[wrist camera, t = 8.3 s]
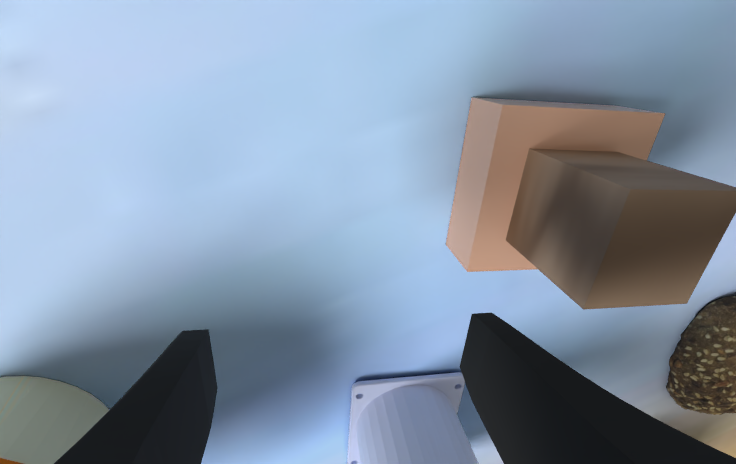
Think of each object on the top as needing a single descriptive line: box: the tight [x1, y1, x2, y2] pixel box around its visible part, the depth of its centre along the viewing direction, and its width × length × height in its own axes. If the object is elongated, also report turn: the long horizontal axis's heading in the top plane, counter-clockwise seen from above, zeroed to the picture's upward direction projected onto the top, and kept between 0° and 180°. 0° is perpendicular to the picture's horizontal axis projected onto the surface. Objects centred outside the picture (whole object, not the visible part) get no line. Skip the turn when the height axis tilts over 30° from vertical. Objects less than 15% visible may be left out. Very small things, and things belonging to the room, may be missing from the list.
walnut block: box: [506, 149, 736, 309], centre depth 15 cm, size 4×4×6 cm
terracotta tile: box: [446, 97, 665, 272], centre depth 19 cm, size 8×8×3 cm
